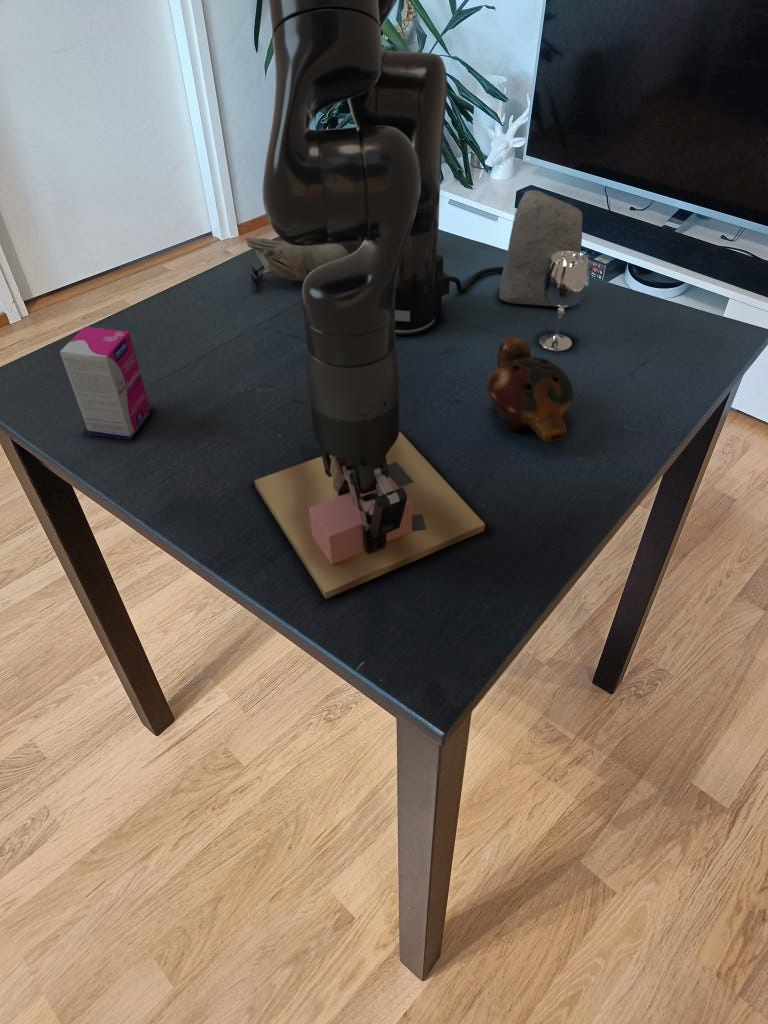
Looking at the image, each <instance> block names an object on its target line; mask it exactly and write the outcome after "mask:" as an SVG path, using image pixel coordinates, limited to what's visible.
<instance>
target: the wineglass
mask: <svg viewBox="0 0 768 1024" xmlns="http://www.w3.org/2000/svg"><path fill="white" fill-rule="evenodd" d="M589 283H590V262H589V258H588V256H587V255H586V254H585V253H582V252H580V253H579V252H575V251H560V252H556V253H554V254H553V255H552V256H551V259H550V261H549V263H548V266H547V269H546V271H545V275H544V279H543V294H544V297H545V299H546V300H547V301H548V302H549V303H550V304H552V305H554V306H553V307H555V306H557V310H556V327H555V331H554V332H551V333H550V332H549V333H545V334H543V335H541V336H540V338H539V340H538V343H539V345H540V346H541V347H542V348H544V349H546V350H549V351H553V352H562V351H566V350H568V349H570V348H571V347H572V345H573V341H572V339H571V338H570V337H568V336H567V335H565V334H562V333H560V329H561V323H562V320H563V317H564V316H565V308H566V309H567V308H572V307H575V306H577V305H579V303H581V302H582V301H583V300H584V298H585V297H586V295H587V292H588V289H589Z"/></svg>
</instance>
